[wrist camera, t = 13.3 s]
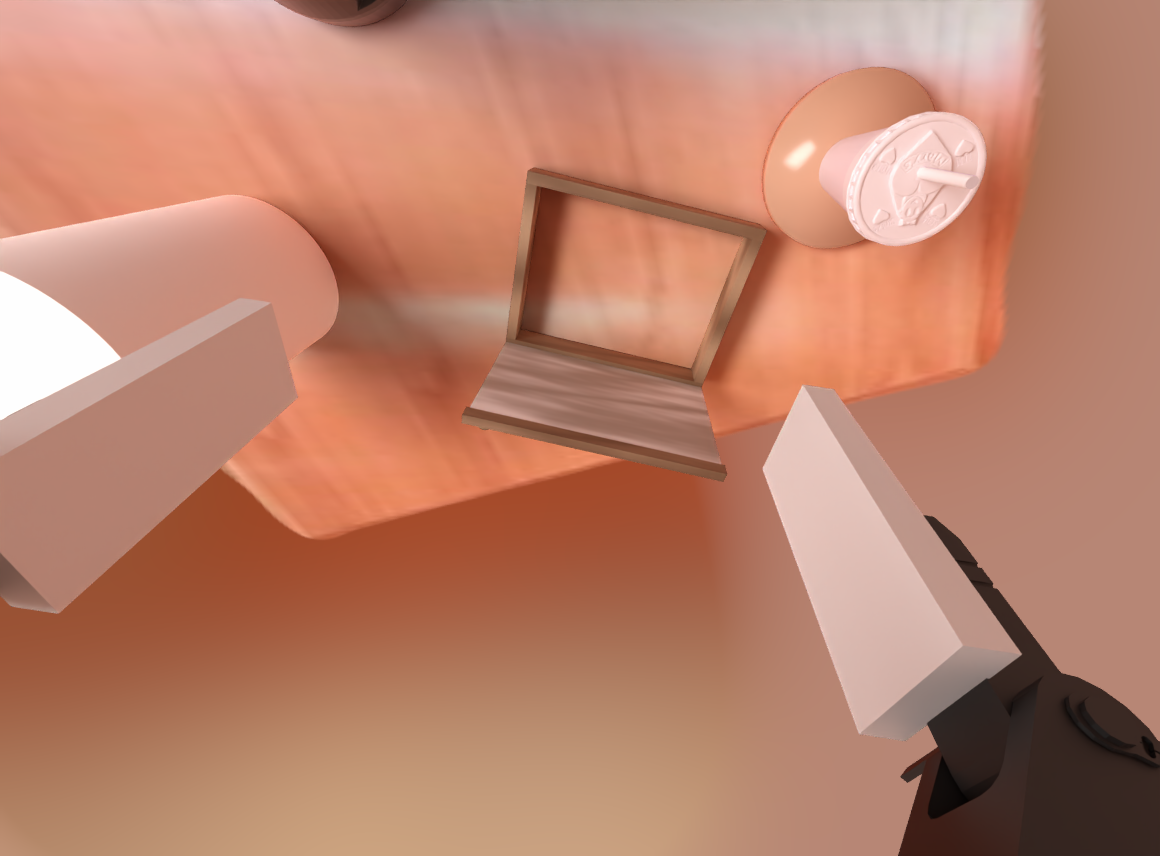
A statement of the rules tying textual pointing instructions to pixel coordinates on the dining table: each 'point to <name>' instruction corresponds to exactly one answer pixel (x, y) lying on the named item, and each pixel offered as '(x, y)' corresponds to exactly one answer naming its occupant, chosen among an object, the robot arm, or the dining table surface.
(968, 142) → the smoothie
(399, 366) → the dining table surface
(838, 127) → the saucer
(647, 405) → the box
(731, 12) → the dining table surface
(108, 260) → the canister
